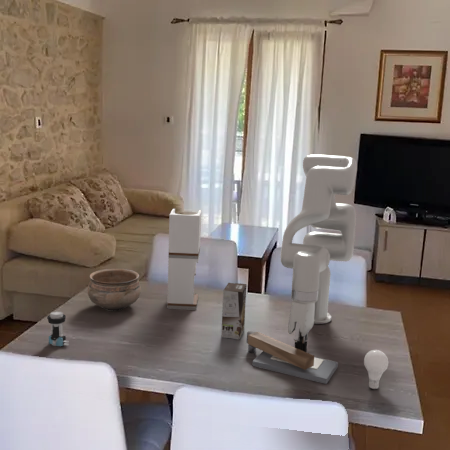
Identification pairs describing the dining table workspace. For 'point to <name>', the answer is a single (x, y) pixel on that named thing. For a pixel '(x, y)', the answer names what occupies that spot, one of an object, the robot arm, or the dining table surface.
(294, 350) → the swing bar
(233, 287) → the coffee box
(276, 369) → the label board
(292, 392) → the dining table surface
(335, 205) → the robot arm
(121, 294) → the cooking pot
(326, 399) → the dining table surface
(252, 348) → the swing post
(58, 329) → the push button
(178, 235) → the white wood-banded pillar
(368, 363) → the lightbulb
